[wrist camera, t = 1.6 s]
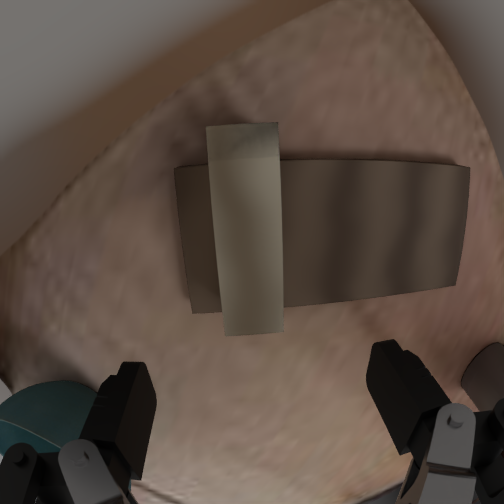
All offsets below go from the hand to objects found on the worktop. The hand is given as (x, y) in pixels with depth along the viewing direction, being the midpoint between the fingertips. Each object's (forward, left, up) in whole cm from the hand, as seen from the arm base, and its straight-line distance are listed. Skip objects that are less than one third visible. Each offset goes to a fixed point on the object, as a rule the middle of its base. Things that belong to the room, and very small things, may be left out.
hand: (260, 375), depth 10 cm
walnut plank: (-8, 0, -17) cm, 18 cm away
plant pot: (+23, +21, -17) cm, 35 cm away
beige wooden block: (0, -1, -16) cm, 16 cm away
